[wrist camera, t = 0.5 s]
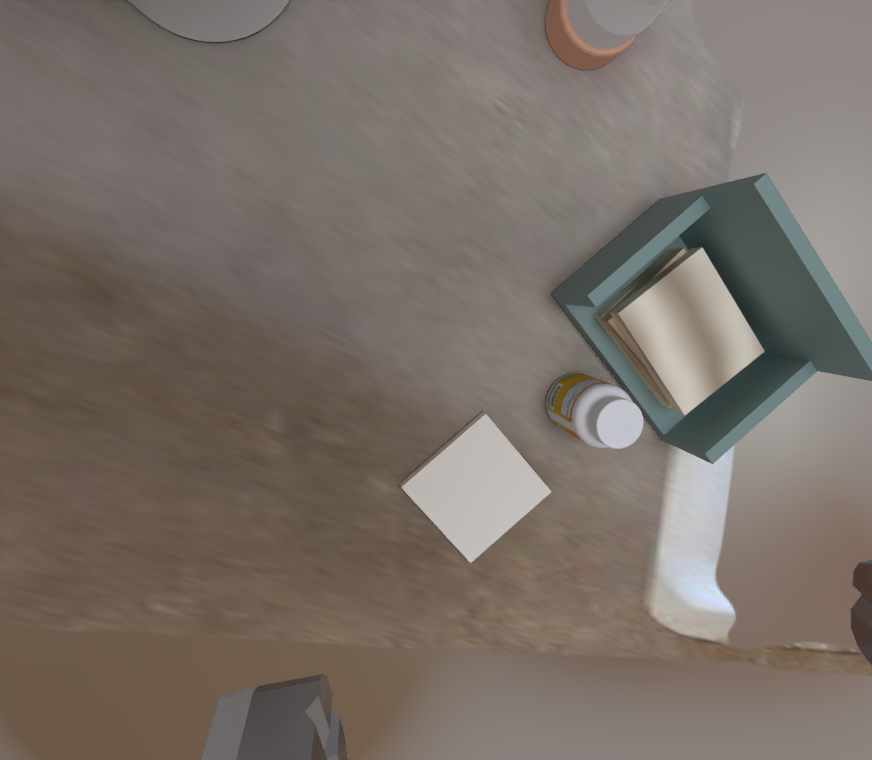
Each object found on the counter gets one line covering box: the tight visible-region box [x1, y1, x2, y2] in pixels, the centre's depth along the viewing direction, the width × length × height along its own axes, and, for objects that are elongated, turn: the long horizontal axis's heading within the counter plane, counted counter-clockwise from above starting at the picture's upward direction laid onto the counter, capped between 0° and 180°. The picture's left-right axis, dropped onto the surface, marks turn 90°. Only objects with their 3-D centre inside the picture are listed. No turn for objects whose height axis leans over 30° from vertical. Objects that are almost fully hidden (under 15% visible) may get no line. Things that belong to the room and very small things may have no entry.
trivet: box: [400, 412, 551, 563], centre depth 57 cm, size 10×10×1 cm
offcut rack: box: [551, 173, 872, 464], centre depth 51 cm, size 13×18×14 cm
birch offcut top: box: [610, 247, 765, 415], centre depth 53 cm, size 9×11×2 cm
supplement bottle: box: [546, 374, 643, 449], centre depth 53 cm, size 5×5×10 cm
